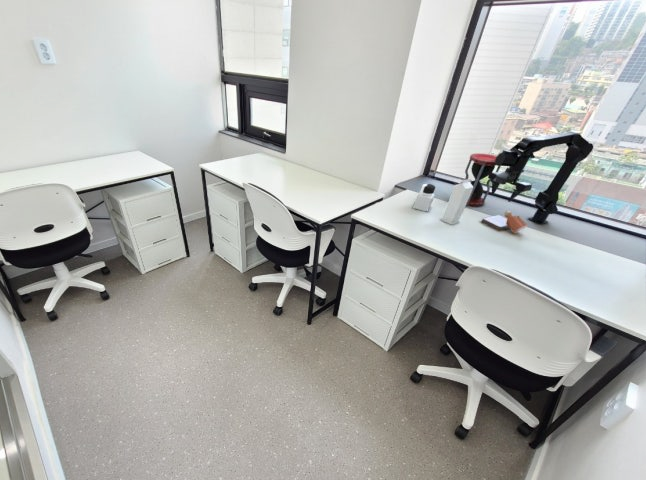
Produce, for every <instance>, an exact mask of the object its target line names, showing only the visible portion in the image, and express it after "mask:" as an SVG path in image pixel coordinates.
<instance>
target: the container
mask: <svg viewBox="0 0 646 480" xmlns="http://www.w3.org/2000/svg"><path fill="white" fill-rule="evenodd" d="M435 190H436V186H435V185H434V184H431V183H424V184H422V185H421V189H420V191H419V192H418V194H417V195H416V198H415V201H414V204H413V207H412V208H413V209H414V210H418V211H423V212H429V210H430V208H431V206H432V203H433V200H434V199H435V198H434V197H435V195H436V194H435Z"/></svg>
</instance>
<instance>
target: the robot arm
mask: <svg viewBox="0 0 646 480" xmlns="http://www.w3.org/2000/svg"><path fill="white" fill-rule="evenodd" d="M561 145H566V147H567V149H566V151H565V157H564V158H565V159H564V161H563V163H562V164H561V166H560V168H559V170H558V171H557V173H556V174H555V176H554V178H553V179H552V180H551V182H550V184H549V185H548V186H547V188H546V189H545V190H543V191H539V192H538V194H537V195H536V197H535V198H534V199H535V200H534V207H535V208H537V209H536V211H535V212H534V214H533V216H532V217H528V220H529V221H531V222H534V223H536V224H538V225H543V224H547V223H549V220H547V219H548V218H549V216H550V215H553V214H554V215H555V214H556V213H557V212H558V211H559V209H558V206H557V203H558V201H559V197H560V194H559V193H560V191H561V190H562V188H563V187H564V185H565V184H566V182H567V181H568V179H569V177H570V176H571V175H572V173H573V172H574V170H575V169H576V167H577V166H578V164H579V163H581V162H583V161H584V160H585V159H587V158H588V156H589V155H591V153H592V151H593V150H594V144H593V143H591V142H589V141H588V140H587V139H586V138H585V137H583V136H582V135H581V133H579V132H576V131H573V130H569V131H566V132H561V133H557V134H552V135H546V136H524V137H523V138H522V139H521V140H520V141H518V142H517V143H516V144H515V145H514V146H512V147H511V148H510V149H509V150H507V149H503V150H502V152H499V154H498V155H496V156H497V157H496V159H495V164H496V167H498V166H501V167H506V169H505V170H504V171H502V172H499V171H498V172H496V171H493V172H492V173H490V174H489V176H487V179H488V180H490V183H491V193H490V194H491V195H492V196H494V194H495V193H496V191H497V190H498V188H499V186H500V185H503V186H505V185H506V184H509V185H512V186H514V187H515V188H513V190H512V191H513V192H512V193H511V195H510V197H509V198H508V200H507V203H510V202H512V201H513V200H514V199H515V198H516V197H517V196H519V195H521V194H522V193H524V192H529V191H531V189H532V188H533V185H532V184H531V183H530V182H526V181H521V182H519V181H520V180H521V178H520V177H521V175H522V173H524V172H525V168H526V166H527V164H528V162H529V160H530V159H535V158H536V155H535V154H534V153H536V152H539V151H541V150H542V149H544V148H548V147H554V146H561Z"/></svg>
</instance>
